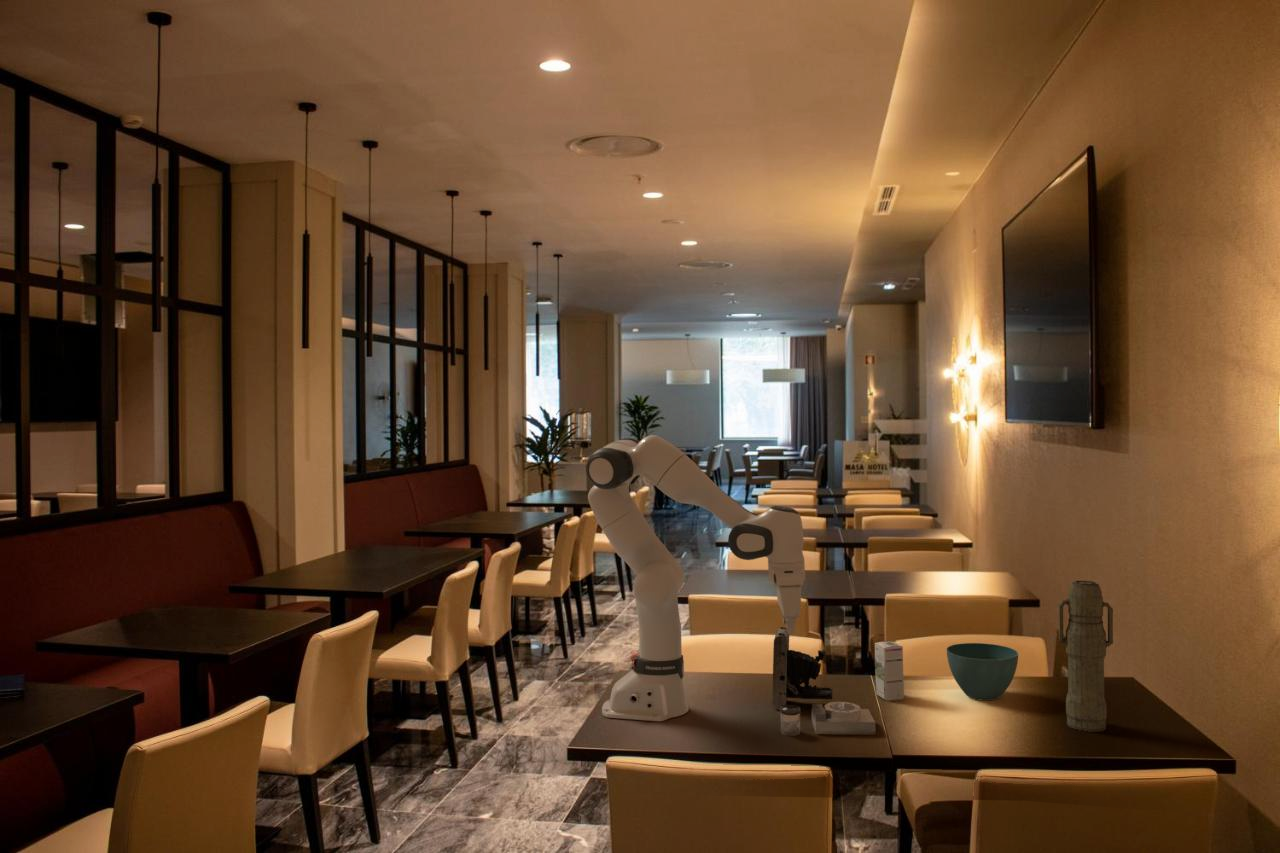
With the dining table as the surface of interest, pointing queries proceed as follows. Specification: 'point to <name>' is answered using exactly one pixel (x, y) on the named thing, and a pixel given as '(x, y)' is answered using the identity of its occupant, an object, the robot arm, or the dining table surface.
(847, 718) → the mount
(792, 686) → the vintage camera
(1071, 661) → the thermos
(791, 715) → the knob
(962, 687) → the teal bowl
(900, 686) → the syrup box
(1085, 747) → the dining table surface
